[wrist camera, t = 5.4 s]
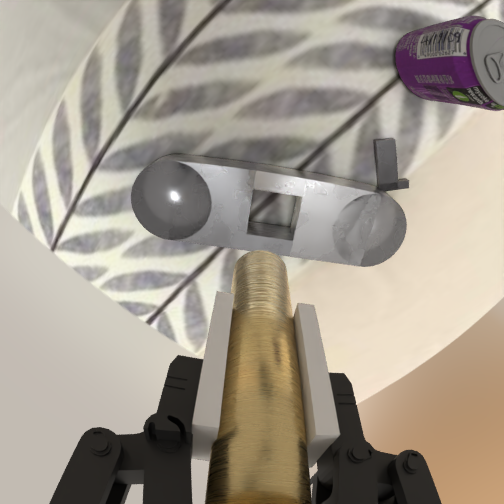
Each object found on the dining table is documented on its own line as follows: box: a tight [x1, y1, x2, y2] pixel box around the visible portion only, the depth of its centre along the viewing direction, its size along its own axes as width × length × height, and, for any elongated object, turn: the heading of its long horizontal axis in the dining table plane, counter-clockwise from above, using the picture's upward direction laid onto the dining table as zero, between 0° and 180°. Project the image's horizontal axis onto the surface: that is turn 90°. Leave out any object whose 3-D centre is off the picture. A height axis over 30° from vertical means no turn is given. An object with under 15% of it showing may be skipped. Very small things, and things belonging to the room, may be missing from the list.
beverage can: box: [395, 16, 504, 111], centre depth 16 cm, size 7×7×12 cm
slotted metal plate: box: [131, 154, 406, 267], centre depth 28 cm, size 7×26×3 cm, turn 82°
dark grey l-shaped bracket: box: [374, 138, 409, 191], centre depth 26 cm, size 5×3×1 cm, turn 12°
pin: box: [205, 250, 312, 504], centre depth 11 cm, size 4×4×14 cm
